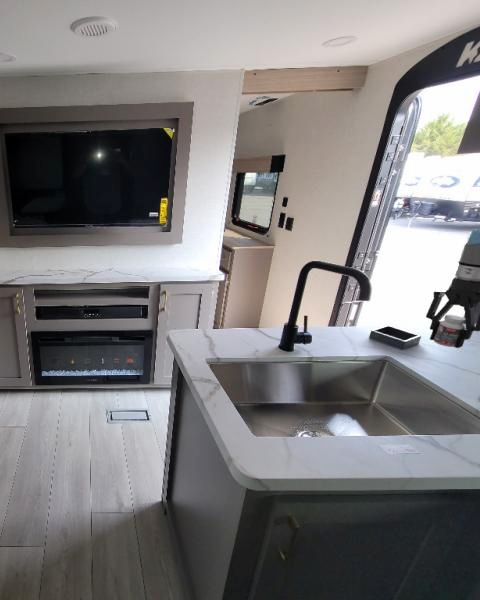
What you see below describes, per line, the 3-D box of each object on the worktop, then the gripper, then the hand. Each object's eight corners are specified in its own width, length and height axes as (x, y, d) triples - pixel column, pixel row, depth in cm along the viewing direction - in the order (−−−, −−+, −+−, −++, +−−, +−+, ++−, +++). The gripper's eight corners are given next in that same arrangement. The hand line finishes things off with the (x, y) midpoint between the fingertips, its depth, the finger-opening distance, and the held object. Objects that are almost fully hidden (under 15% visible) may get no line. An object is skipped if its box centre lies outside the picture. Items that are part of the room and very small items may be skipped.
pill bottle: (439, 346, 110) (449, 319, 107) (429, 339, 115) (438, 313, 112) (462, 348, 108) (473, 321, 105) (450, 340, 113) (460, 314, 110)
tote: (418, 343, 131) (421, 335, 130) (402, 349, 127) (405, 341, 126) (384, 332, 141) (387, 325, 140) (368, 337, 137) (371, 330, 136)
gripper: (425, 273, 111) (404, 334, 119) (510, 287, 94) (479, 357, 102) (437, 270, 113) (416, 330, 121) (521, 284, 97) (491, 352, 105)
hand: (445, 342), depth 112 cm, fingers closed on pill bottle, 6 cm apart
